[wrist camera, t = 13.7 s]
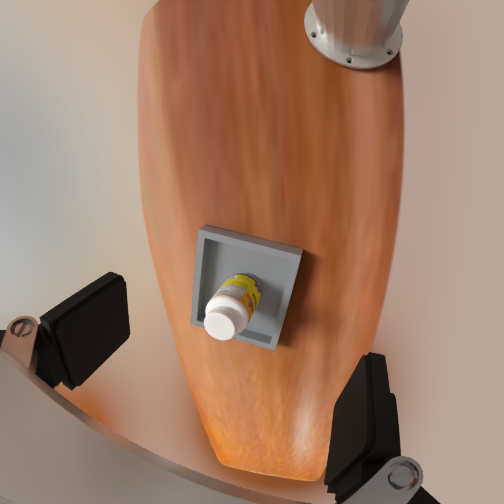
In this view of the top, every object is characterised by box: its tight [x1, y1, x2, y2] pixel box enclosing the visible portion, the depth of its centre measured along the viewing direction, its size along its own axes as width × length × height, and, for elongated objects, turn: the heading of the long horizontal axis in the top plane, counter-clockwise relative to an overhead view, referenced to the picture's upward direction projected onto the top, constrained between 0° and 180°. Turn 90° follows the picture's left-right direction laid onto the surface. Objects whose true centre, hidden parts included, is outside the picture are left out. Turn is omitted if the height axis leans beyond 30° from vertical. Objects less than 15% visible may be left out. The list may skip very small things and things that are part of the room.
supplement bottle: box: [204, 273, 262, 340], centre depth 37 cm, size 6×6×10 cm
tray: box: [191, 225, 303, 351], centre depth 41 cm, size 16×14×2 cm
